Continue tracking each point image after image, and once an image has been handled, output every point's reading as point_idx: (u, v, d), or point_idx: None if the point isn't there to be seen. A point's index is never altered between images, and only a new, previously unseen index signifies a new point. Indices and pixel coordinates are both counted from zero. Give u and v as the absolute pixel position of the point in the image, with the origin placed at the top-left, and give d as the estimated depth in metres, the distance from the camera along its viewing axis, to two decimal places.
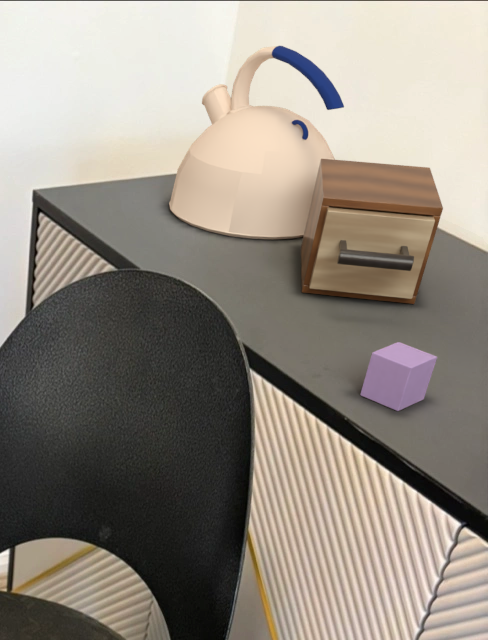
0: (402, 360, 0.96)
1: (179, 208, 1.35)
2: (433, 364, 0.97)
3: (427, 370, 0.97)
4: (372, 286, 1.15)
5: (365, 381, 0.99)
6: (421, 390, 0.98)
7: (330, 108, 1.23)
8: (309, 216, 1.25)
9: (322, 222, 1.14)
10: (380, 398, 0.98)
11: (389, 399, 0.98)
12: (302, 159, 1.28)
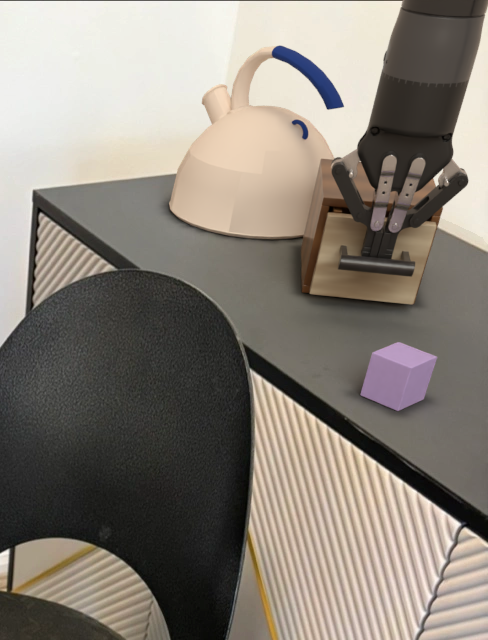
0: (402, 360, 0.96)
1: (179, 208, 1.35)
2: (433, 364, 0.97)
3: (427, 370, 0.97)
4: (373, 292, 1.14)
5: (365, 381, 0.99)
6: (421, 390, 0.98)
7: (330, 108, 1.23)
8: (309, 216, 1.25)
9: (322, 222, 1.14)
10: (380, 398, 0.98)
11: (389, 399, 0.98)
12: (302, 159, 1.28)
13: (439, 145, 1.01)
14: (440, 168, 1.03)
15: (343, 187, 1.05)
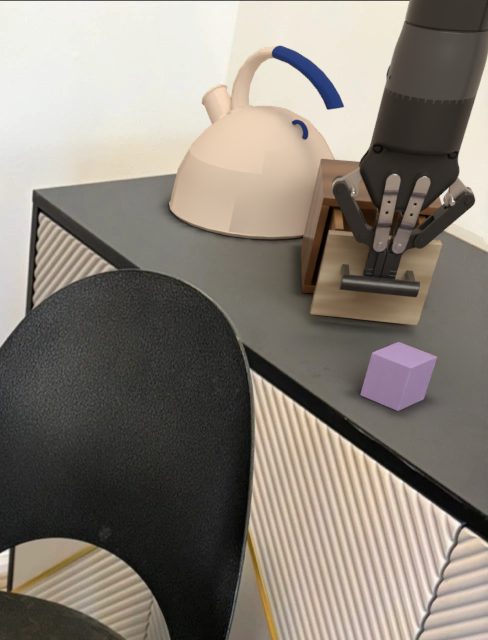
0: (402, 360, 0.96)
1: (179, 208, 1.35)
2: (433, 364, 0.97)
3: (427, 370, 0.97)
4: (376, 312, 1.10)
5: (365, 381, 0.99)
6: (421, 390, 0.98)
7: (330, 108, 1.23)
8: (309, 216, 1.25)
9: (322, 222, 1.14)
10: (380, 398, 0.98)
11: (389, 399, 0.98)
12: (302, 159, 1.28)
13: (444, 163, 0.97)
14: (446, 187, 0.99)
15: (345, 207, 1.01)
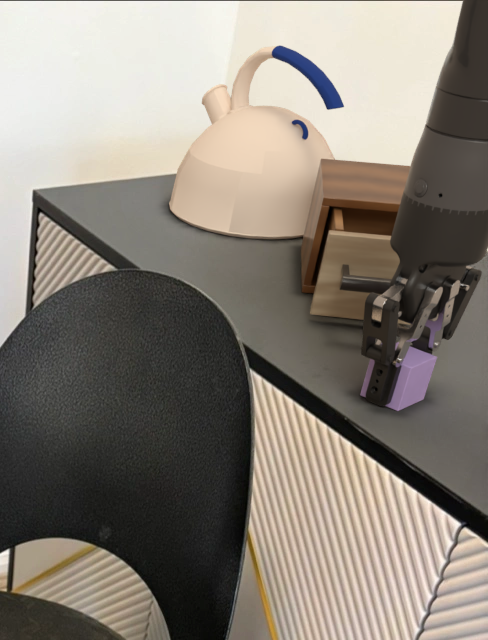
0: None
1: (179, 208, 1.35)
2: (433, 364, 0.97)
3: (427, 371, 0.97)
4: None
5: (365, 381, 0.99)
6: (421, 390, 0.98)
7: (330, 108, 1.23)
8: (309, 216, 1.25)
9: (322, 222, 1.14)
10: None
11: None
12: (302, 159, 1.28)
13: None
14: None
15: (391, 327, 0.91)
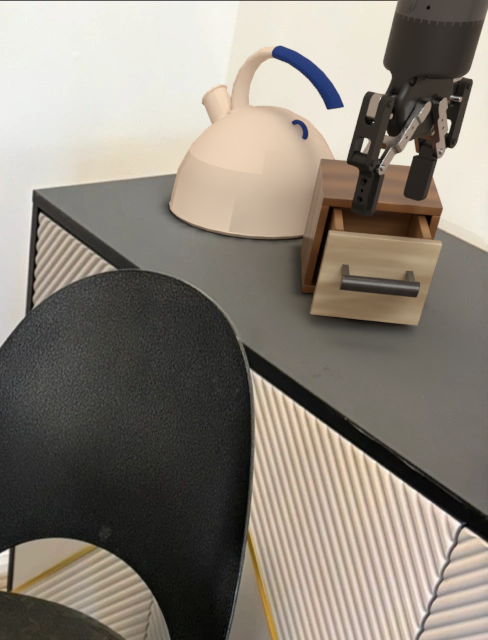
0: None
1: (179, 208, 1.35)
2: None
3: None
4: (376, 312, 1.10)
5: None
6: None
7: (330, 108, 1.23)
8: (309, 216, 1.25)
9: (322, 222, 1.14)
10: None
11: None
12: (302, 159, 1.28)
13: (444, 88, 1.01)
14: None
15: (382, 125, 0.98)
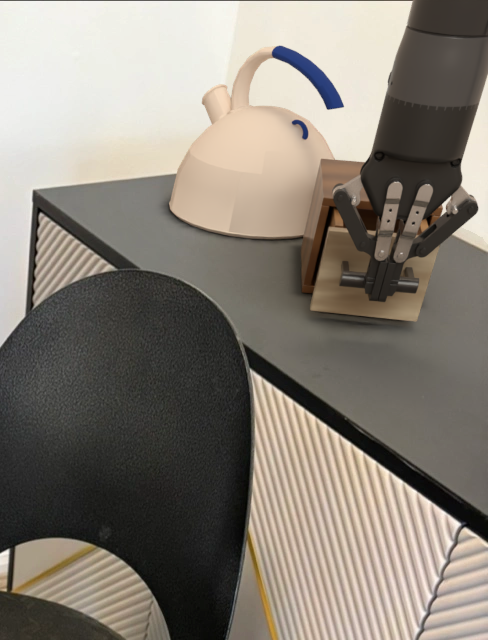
0: None
1: (179, 208, 1.35)
2: None
3: None
4: (375, 308, 1.11)
5: None
6: None
7: (330, 108, 1.23)
8: (309, 216, 1.25)
9: (322, 222, 1.14)
10: None
11: None
12: (302, 159, 1.28)
13: (447, 171, 0.95)
14: (449, 194, 0.97)
15: (346, 215, 0.99)
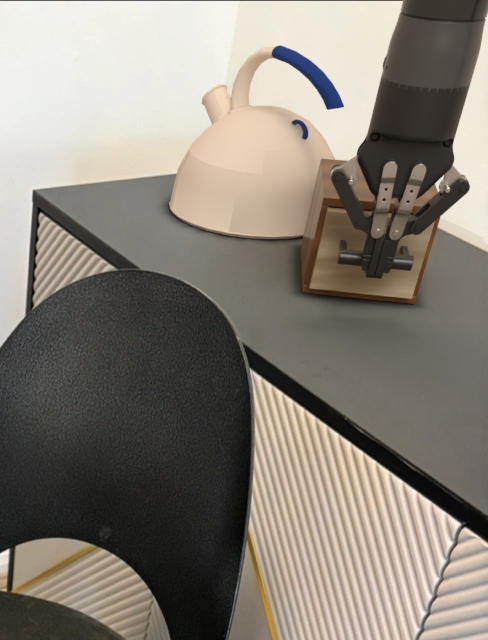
0: None
1: (179, 208, 1.35)
2: None
3: None
4: (372, 286, 1.15)
5: None
6: None
7: (330, 108, 1.23)
8: (309, 216, 1.25)
9: (322, 222, 1.14)
10: None
11: None
12: (302, 159, 1.28)
13: (440, 151, 1.00)
14: (441, 174, 1.01)
15: (343, 194, 1.04)
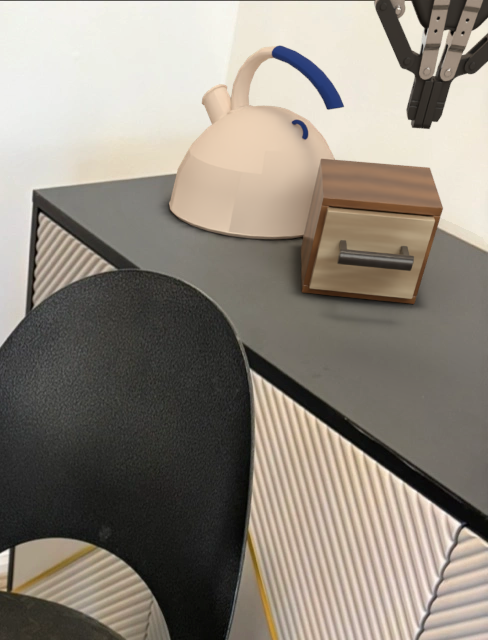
0: None
1: (179, 208, 1.35)
2: None
3: None
4: (372, 286, 1.15)
5: None
6: None
7: (330, 108, 1.23)
8: (309, 216, 1.25)
9: (322, 222, 1.14)
10: None
11: None
12: (302, 159, 1.28)
13: None
14: None
15: (389, 26, 0.92)
